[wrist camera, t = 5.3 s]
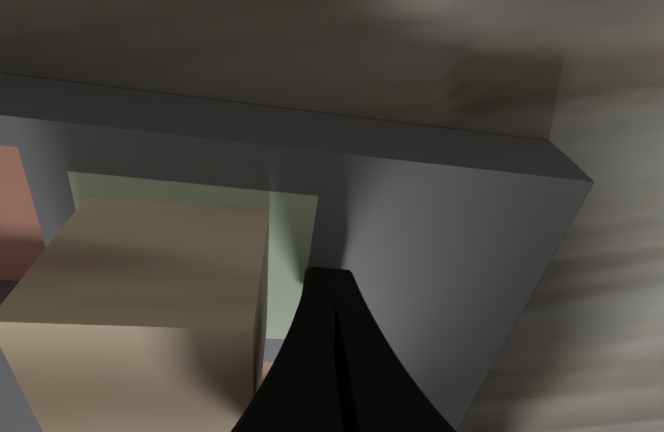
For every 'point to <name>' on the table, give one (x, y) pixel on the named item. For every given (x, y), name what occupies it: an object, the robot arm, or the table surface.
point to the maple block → (142, 318)
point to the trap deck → (305, 211)
